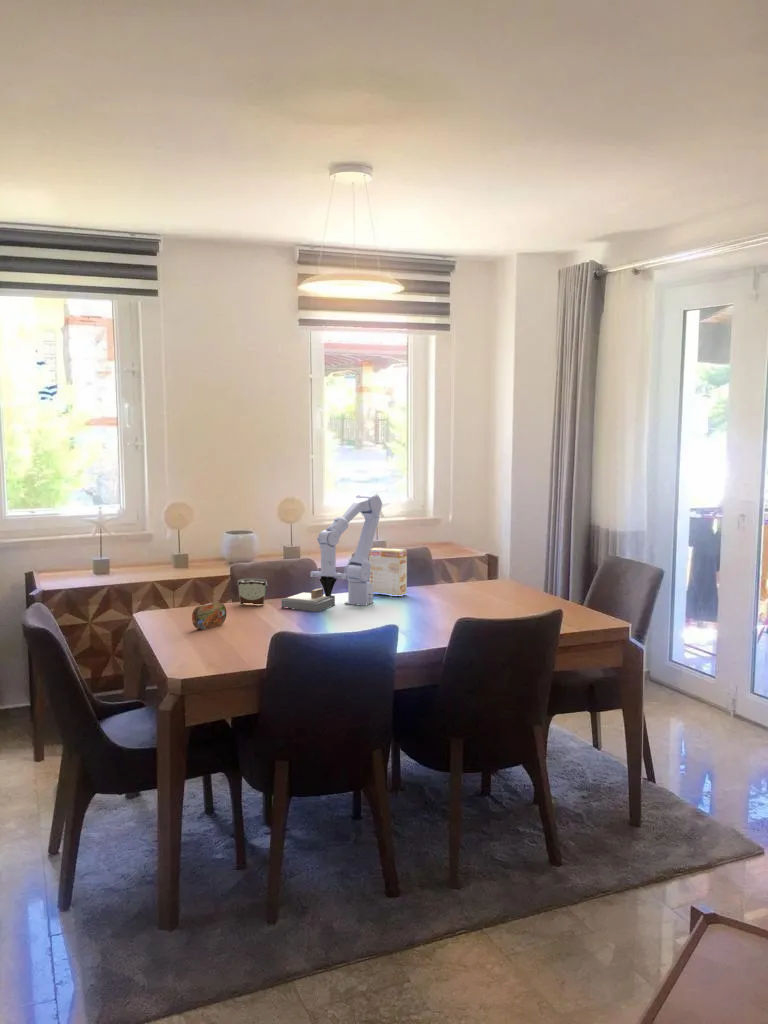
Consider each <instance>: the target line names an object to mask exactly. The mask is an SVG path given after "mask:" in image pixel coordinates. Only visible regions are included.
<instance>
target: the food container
mask: <svg viewBox="0 0 768 1024" xmlns="http://www.w3.org/2000/svg"><path fill="white" fill-rule="evenodd" d="M236 586H237V587H238V596H239V604H243V603H253V604H264V605H265V597H266V590H267V589H266V588H267V587H268V586H269V585H268V581H267V579H264V578H242V579H238V580H237V583H236ZM266 586H267V587H266Z"/></svg>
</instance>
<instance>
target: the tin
mask: <svg viewBox="0 0 768 1024" xmlns="http://www.w3.org/2000/svg"><path fill="white" fill-rule="evenodd" d="M191 617H192V618H191V619H192V620H191V621H192V622H191V623H192V624H193V627H194V628H195V629H197V630H203V631H206V630H209V629H212V628H216V626H217V627H220V626H222V625H223V624H224V622H225V621H226V618H227V608H226V606H225V604H224V603H222V602H220V601H216V602H215V601H214V602H209V603H205V604H202V605H198V606H196V607H195V608H194V609H193V611H192V615H191ZM219 625H220V626H219ZM205 629H206V630H205Z"/></svg>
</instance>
